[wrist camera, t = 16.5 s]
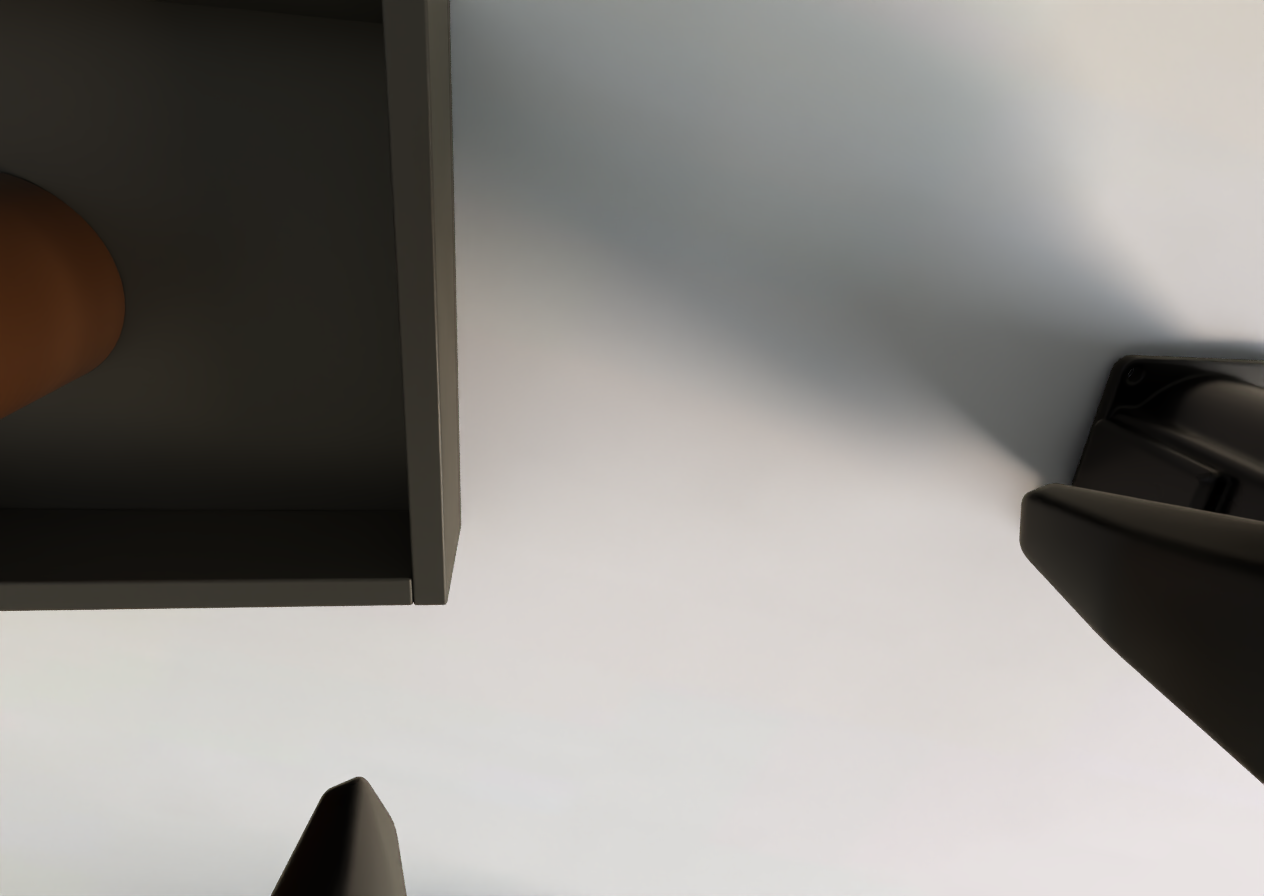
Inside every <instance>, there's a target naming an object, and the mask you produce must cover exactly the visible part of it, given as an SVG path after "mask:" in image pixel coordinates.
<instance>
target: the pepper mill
mask: <svg viewBox="0 0 1264 896" xmlns="http://www.w3.org/2000/svg"><path fill="white" fill-rule="evenodd" d="M124 315H125V297H124V291H123V286H122V282H121V278H120V275H119V272H118V269H117V267H116V265H115V263H114V261H113V258H112V256H111V255H110V253H109V251H108V250H107V248H106V246H105V245H104V243H103V242H102V240H101V239H100V238H99V236H98V235H97V234H96V232H95V231H94V230H93V229H92V228H91V227H90V226H89V224H88V223H87V222H86V221H85V220H84V219H83V218H82V217H81V216H80V215H79V214H77V213H76V212H75V211H74V210H73V209H72V208H70V207H69V206H68V205H67V204H65V203H64V202H62V201H61V200H60V199H58V198H57V197H55V196H54V195H52V194H51V193H49V192H47V191H45V190H44V189H42V188H40V187H38V186H36V185H34V184H32V183H30V182H27V181H25V180H23V179H21V178H18V177H14V176H11V175H8V174H5V173H1V172H0V419H2V418H4V417H6V416H8V415H10V414H11V413H13V412H15V411H17V410H19V409H21V408H23V407H25V406H27V405H28V404H30V403H32V402H34V401H36V400H38V399H40V398H42V397H44V396H45V395H47V394H49V393H51V392H53V391H55V390H57V389H59V388H61V387H62V386H64V385H66V384H68V383H70V382H72V381H74V380H76V379H77V378H79V377H81V376H83V375H85V374H87V373H89V372H90V371H92V370H93V369H94V368H96V367H97V366H99V365H100V364H101V363H102V362H103V361H104V360H105V359H106V358H107V357H108V355H109V354H110V353H111V351H112V350H113V348H114V347H115V345H116V343H117V341H118V339H119V337H120V334H121V330H122V327H123V323H124Z"/></svg>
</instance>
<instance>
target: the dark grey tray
mask: <svg viewBox="0 0 1264 896" xmlns="http://www.w3.org/2000/svg"><path fill="white" fill-rule="evenodd" d="M0 172H1V173H5V174H8V175H11V176H14V177H18V178H21V179H23V180H25V181H27V182H30V183H32V184H34V185H36V186H38V187H40V188H42V189H44V190H45V191H47V192H49V193H51V194H52V195H54V196H55V197H57V198H58V199H60V200H61V201H62V202H64V203H65V204H67V205H68V206H69V207H70V208H72V209H73V210H74V211H75V212H76V213H77V214H79V215H80V216H81V217H82V218H83V219H84V220H85V221H86V222H87V223H88V224H89V226H90V227H91V228H92V229H93V230H94V231H95V232H96V234H97V235H98V236H99V238H100V239H101V240H102V242H103V243H104V245H105V246H106V248H107V250H108V251H109V253H110V255H111V256H112V258H113V261H114V263H115V265H116V267H117V269H118V272H119V275H120V278H121V282H122V286H123V291H124V297H125V315H124V323H123V327H122V330H121V334H120V337H119V339H118V341H117V343H116V345H115V347H114V348H113V350H112V351H111V353H110V354H109V355H108V357H107V358H106V359H105V360H104V361H103V362H102V363H101V364H100V365H99V366H97V367H96V368H94V369H93V370H92V371H90V372H89V373H87V374H85V375H83V376H81V377H79V378H77V379H76V380H74V381H72V382H70V383H68V384H66V385H64V386H62V387H61V388H59V389H57V390H55V391H53V392H51V393H49V394H47V395H45V396H44V397H42V398H40V399H38V400H36V401H34V402H32V403H30V404H28V405H27V406H25V407H23V408H21V409H19V410H17V411H15V412H13V413H11V414H10V415H8V416H6V417H4V418H2V419H0V611H30V610H99V609H167V608H235V607H304V606H372V605H411V604H413V602H414V604H415V605H445V604H446V603H447V600H448V594H449V589H450V583H451V578H452V572H453V567H454V561H455V556H456V550H457V545H458V539H459V534H460V529H461V496H460V450H459V404H458V359H457V313H456V267H455V221H454V176H453V130H452V84H451V39H450V0H0Z"/></svg>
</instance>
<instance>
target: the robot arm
mask: <svg viewBox="0 0 1264 896" xmlns="http://www.w3.org/2000/svg"><path fill="white" fill-rule="evenodd" d="M1133 368H1134V369H1133ZM1132 369H1133V372H1132V374H1131V375H1130V376H1129V377H1128V374H1129V372H1130V371H1131V370H1132ZM1019 541H1020V546H1021V549H1022V551H1023V553H1024V554H1025V556H1026V557H1027V559H1028V560H1029V561H1030V562H1031V563H1032V564H1033V565H1034V566H1035V567H1036V569H1037V570H1038V571H1039V572H1040V573H1041V574H1042V575H1043V576H1044V577H1045V578H1046V579H1047V580H1048V581H1049V582H1050V584H1051V585H1052V586H1053V587H1054V588H1055V589H1056V590H1057V591H1058V592H1059V593H1060V594H1061V595H1062V596H1063V598H1064V599H1065V600H1066V601H1067V602H1068V603H1069V604H1070V605H1071V606H1072V607H1073V608H1074V609H1075V610H1076V612H1077V613H1078V614H1079V615H1080V616H1081V617H1082V618H1083V619H1084V620H1085V621H1086V622H1087V623H1088V624H1089V626H1090V627H1091V628H1092V629H1093V630H1094V631H1095V632H1096V633H1097V634H1098V635H1099V636H1100V637H1101V638H1102V639H1103V640H1104V641H1105V642H1106V643H1107V644H1108V645H1109V646H1110V647H1111V648H1112V649H1113V650H1114V651H1115V652H1116V653H1118V654H1119V655H1120V656H1121V657H1122V658H1123V659H1124V660H1125V661H1126V662H1127V663H1128V664H1130V665H1131V666H1132V667H1133V668H1134V669H1135V670H1136V671H1137V672H1139V673H1140V674H1141V675H1142V676H1143V677H1144V678H1145V679H1146V680H1147V681H1149V682H1150V683H1151V684H1152V685H1153V686H1154V687H1155V688H1156V689H1158V690H1159V691H1160V692H1161V693H1162V694H1163V695H1164V696H1165V697H1166V698H1168V699H1169V700H1170V701H1171V702H1172V703H1173V704H1174V705H1175V706H1177V707H1178V708H1179V709H1180V710H1181V711H1182V712H1183V713H1184V714H1185V715H1187V716H1188V717H1189V718H1190V719H1191V720H1192V721H1193V722H1194V723H1196V724H1197V725H1198V726H1199V727H1200V728H1201V729H1202V730H1203V731H1204V732H1206V733H1207V734H1208V735H1209V736H1210V737H1211V738H1212V739H1213V740H1215V741H1216V742H1217V743H1218V744H1219V745H1220V746H1221V747H1222V748H1223V749H1225V750H1226V751H1227V752H1228V753H1229V754H1230V755H1231V756H1232V757H1234V758H1235V759H1236V760H1237V761H1238V762H1239V763H1240V764H1241V765H1242V766H1244V767H1245V768H1246V769H1247V770H1248V771H1249V772H1250V773H1251V774H1252V775H1254V776H1255V777H1256V778H1257V779H1258V780H1259V781H1260V782H1261V783H1263V784H1264V360H1246V359H1222V358H1197V357H1173V356H1148V355H1127V356H1124V357H1122V358H1120V359H1119V360H1118V361H1117V362H1116V363H1115V364H1114V366H1113V368H1112V370H1111V372H1110V375H1109V378H1108V381H1107V384H1106V387H1105V390H1104V392H1103V395H1102V398H1101V401H1100V404H1099V407H1098V410H1097V413H1096V415H1095V418H1094V421H1093V424H1092V427H1091V430H1090V433H1089V436H1088V439H1087V441H1086V444H1085V447H1084V450H1083V453H1082V456H1081V459H1080V462H1079V464H1078V467H1077V470H1076V473H1075V476H1074V479H1073V482H1072V485H1071V486H1069V485H1064V484H1058V483H1051V484H1047V485H1045V486H1042V487H1040V488H1037V489H1035V490H1033V491H1030V492H1028V493H1027V494H1025V496H1024V497H1023V499H1022V503H1021V519H1020V536H1019ZM271 896H407V895H406V889H405V882H404V876H403V869H402V863H401V856H400V850H399V843H398V837H397V833H396V829H395V826H394V823H393V820H392V818H391V816H390V815H389V813H388V812H387V810H386V808H385V807H384V805H383V804H382V802H381V801H380V799H379V798H378V796H377V795H376V793H375V791H374V790H373V788H372V787H371V785H370V784H369V782H368V781H367V780H366V779H364V778H363V777H355V778H353V779H350V780H348V781H346V782H343V783H341V784H339V785H336V786H334V787H332V788H330V789H328V790H327V791H326V792H325V793H324V794H323V796H322V797H321V799H320V801H319V803H318V805H317V807H316V809H315V811H314V813H313V814H312V816H311V818H310V820H309V822H308V824H307V826H306V828H305V830H304V832H303V834H302V836H301V838H300V840H299V842H298V844H297V846H296V848H295V849H294V851H293V853H292V855H291V857H290V859H289V861H288V863H287V865H286V867H285V869H284V871H283V873H282V875H281V877H280V879H279V881H278V882H277V884H276V886H275V888H274V890H273V892H272V894H271Z"/></svg>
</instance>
